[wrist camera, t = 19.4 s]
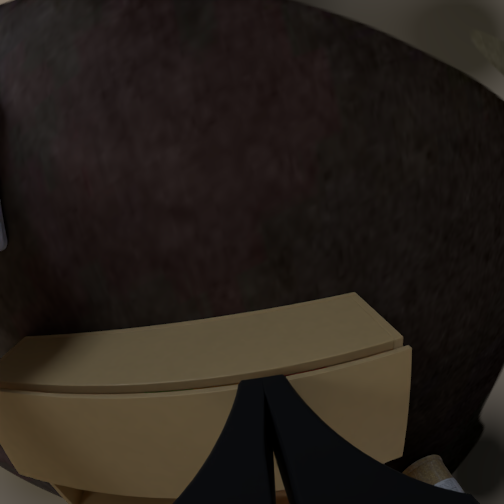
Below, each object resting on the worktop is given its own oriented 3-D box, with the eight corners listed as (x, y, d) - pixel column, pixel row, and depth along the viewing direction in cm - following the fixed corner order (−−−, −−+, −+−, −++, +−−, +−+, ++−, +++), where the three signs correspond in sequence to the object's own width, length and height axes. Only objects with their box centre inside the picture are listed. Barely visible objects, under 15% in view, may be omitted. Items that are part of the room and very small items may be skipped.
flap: (-24, 384, 9) (-28, 386, 8) (408, 344, 9) (412, 347, 9) (21, 471, 9) (19, 474, 9) (400, 452, 10) (402, 456, 9)
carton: (25, 336, 14) (-21, 378, 9) (354, 291, 14) (403, 336, 10) (93, 462, 16) (75, 510, 11) (352, 439, 17) (376, 492, 12)
